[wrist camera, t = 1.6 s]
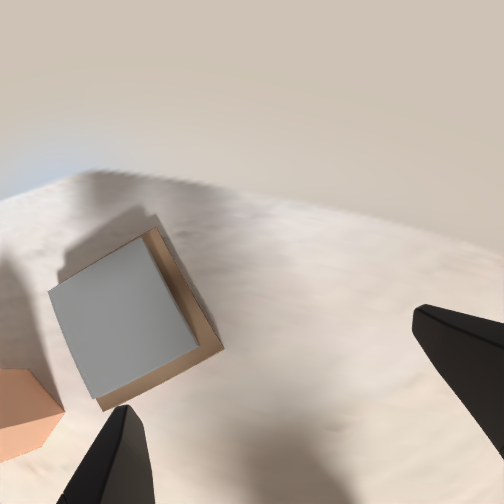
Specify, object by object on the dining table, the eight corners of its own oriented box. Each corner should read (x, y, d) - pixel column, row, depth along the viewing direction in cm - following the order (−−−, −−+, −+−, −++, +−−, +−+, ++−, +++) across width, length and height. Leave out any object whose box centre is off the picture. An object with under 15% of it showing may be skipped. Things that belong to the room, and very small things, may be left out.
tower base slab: (224, 349, 23) (223, 348, 20) (115, 406, 21) (103, 411, 18) (162, 238, 25) (155, 227, 23) (64, 296, 23) (49, 290, 21)
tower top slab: (200, 346, 20) (197, 345, 18) (103, 395, 19) (92, 399, 17) (148, 246, 22) (140, 236, 20) (60, 296, 20) (47, 291, 19)
